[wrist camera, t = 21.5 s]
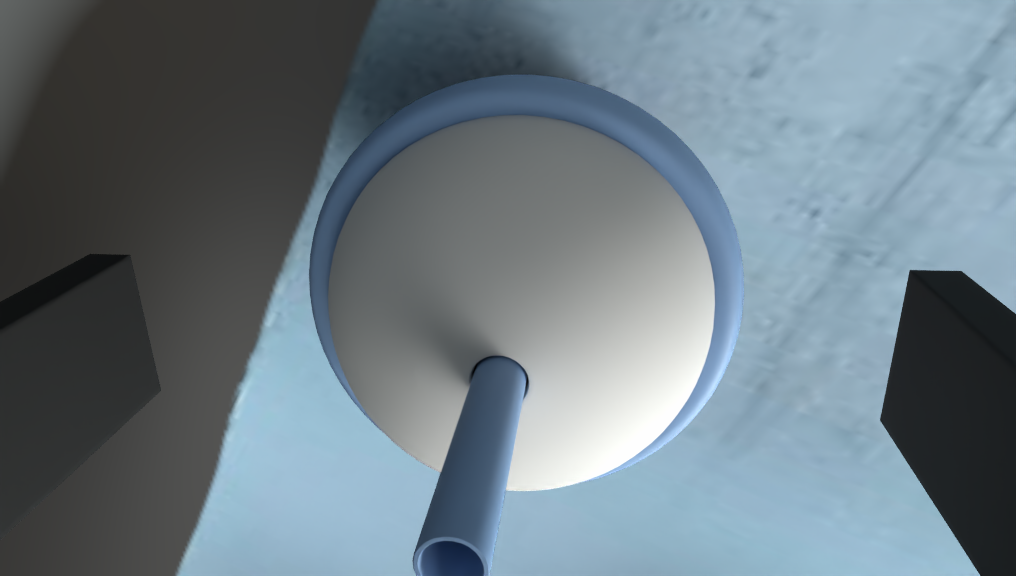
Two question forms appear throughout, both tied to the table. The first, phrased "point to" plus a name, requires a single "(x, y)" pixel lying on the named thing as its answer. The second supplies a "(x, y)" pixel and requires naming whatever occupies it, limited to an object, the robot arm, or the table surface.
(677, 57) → the table surface
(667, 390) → the cup with straw
